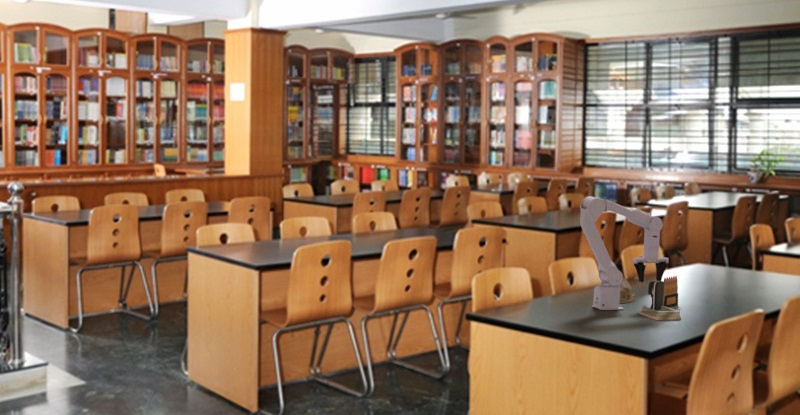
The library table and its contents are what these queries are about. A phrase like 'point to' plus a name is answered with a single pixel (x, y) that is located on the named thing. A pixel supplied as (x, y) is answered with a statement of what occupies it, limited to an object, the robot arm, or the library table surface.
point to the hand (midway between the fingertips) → (649, 281)
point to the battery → (656, 294)
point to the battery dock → (661, 313)
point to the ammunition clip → (670, 292)
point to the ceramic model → (626, 292)
